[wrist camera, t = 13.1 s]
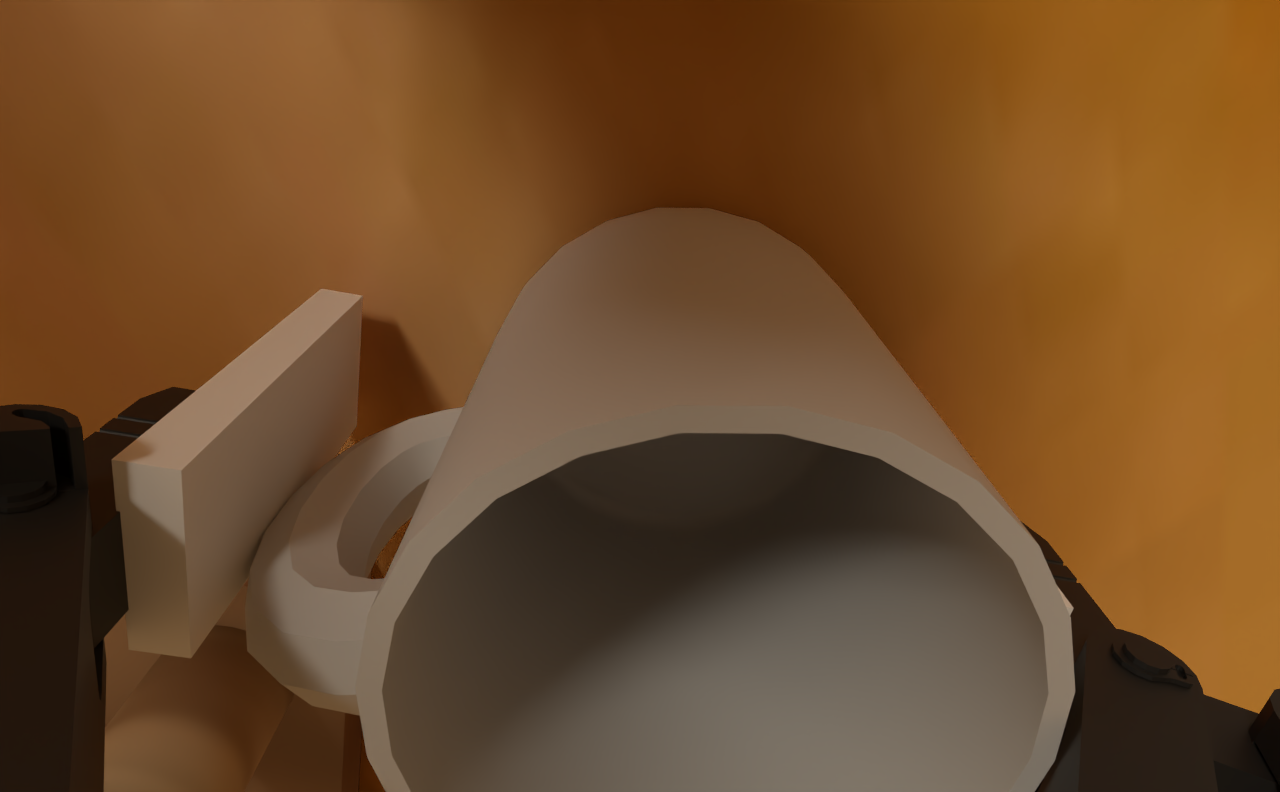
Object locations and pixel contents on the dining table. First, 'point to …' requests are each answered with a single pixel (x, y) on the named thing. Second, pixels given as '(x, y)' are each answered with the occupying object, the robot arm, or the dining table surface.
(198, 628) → the robot arm
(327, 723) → the stool panel
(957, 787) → the cup
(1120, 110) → the dining table surface
